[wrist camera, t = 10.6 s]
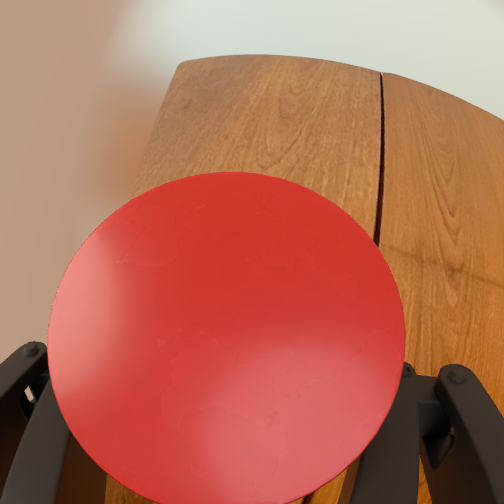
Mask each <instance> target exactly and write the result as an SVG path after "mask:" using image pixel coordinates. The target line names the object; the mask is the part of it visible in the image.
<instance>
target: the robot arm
mask: <svg viewBox="0 0 504 504" xmlns="http://www.w3.org/2000/svg"><path fill="white" fill-rule="evenodd" d="M28 386H29V388H30V390H31V393H32V395H33V397H34V398H33V400H31V401H29V400H28V398H27V396H26V394H25V392H24V391H25V389H26V388H27V387H28ZM419 455H420V458H421V462H422V465H423V469H424V473H425V476H426V480H427V484H428V488H429V492H430V496H431V500H432V504H504V418H503V416H502V415H501V413H500V411H499V410H498V408H497V407H496V405H495V404H494V402H493V401H492V399H491V397H490V396H489V394H488V393H487V391H486V390H485V389H484V387H483V386H482V384H481V383H480V381H479V380H478V378H477V377H476V376H475V374H474V373H473V372H472V371H471V370H470V369H468V368H467V367H465V366H463V365H459V364H449V365H445V366H443V367H442V368H441V369H440V372H439V374H438V377H430V376H420V375H416V372H415V370H414V368H413V367H412V366H411V365H410V364H408V363H406V362H404V365H403V370H402V375H401V380H400V384H399V387H398V390H397V393H396V396H395V399H394V401H393V404H392V406H391V409H390V411H389V413H388V415H387V417H386V419H385V420H384V422H383V424H382V426H381V428H380V429H379V431H378V433H377V434H376V436H375V437H374V438H373V440H372V441H371V442H370V444H369V445H368V446H367V447H366V449H365V450H364V451H363V452H362V454H361V455H360V456H359V457H358V458H357V459H356V460H355V461H354V462H353V463H352V464H351V465H350V466H348V469H347V472H346V476H345V480H344V483H343V487H342V490H341V493H340V497H339V500H338V503H337V504H417V496H418V482H419ZM106 479H107V473H106V472H105V471H104V470H102V469H101V468H100V467H99V466H98V465H97V464H96V462H95V461H94V460H93V459H92V458H91V457H90V456H89V455H88V454H87V453H86V452H85V451H84V449H83V448H82V446H81V445H80V444H79V442H78V441H77V439H76V438H75V437H74V435H73V434H72V432H71V431H70V429H69V427H68V425H67V423H66V421H65V419H64V417H63V415H62V413H61V411H60V408H59V406H58V403H57V400H56V397H55V394H54V391H53V387H52V383H51V378H50V373H49V366H48V353H47V347H46V345H45V344H44V343H41V342H35V341H33V342H28V343H27V344H24V345H23V346H21V347H20V348H18V349H17V350H16V351H15V352H14V353H13V354H11V355H10V356H9V357H8V358H7V359H6V360H5V361H3V363H1V364H0V504H105V491H106Z"/></svg>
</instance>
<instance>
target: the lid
mask: <svg viewBox="0 0 504 504" xmlns="http://www.w3.org/2000/svg"><path fill="white" fill-rule="evenodd" d="M405 339H406V332H405V322H404V313H403V307H402V303H401V299H400V295H399V291H398V288H397V285H396V282H395V280H394V278H393V275H392V273H391V270H390V268H389V266H388V264H387V262H386V261H385V259H384V257H383V255H382V254H381V252H380V250H379V249H378V247H377V246H376V244H375V243H374V242H373V240H372V239H371V238H370V237H369V235H368V234H367V233H366V231H365V230H364V229H363V228H362V227H361V226H360V225H359V224H358V223H357V222H356V221H355V220H354V219H353V218H352V217H351V216H350V215H349V214H347V213H346V212H345V211H343V210H342V209H341V208H340V207H338V206H337V205H336V204H334V203H333V202H331V201H330V200H328V199H326V198H325V197H323V196H321V195H320V194H318V193H316V192H314V191H312V190H310V189H308V188H305V187H303V186H301V185H299V184H296V183H293V182H290V181H287V180H284V179H281V178H277V177H272V176H267V175H263V174H256V173H246V172H216V173H207V174H200V175H195V176H190V177H185V178H181V179H178V180H175V181H172V182H169V183H166V184H163V185H161V186H158V187H156V188H154V189H151V190H149V191H147V192H145V193H143V194H141V195H140V196H138V197H136V198H134V199H132V200H131V201H129V202H128V203H126V204H125V205H123V206H122V207H121V208H119V209H118V210H116V211H115V212H114V213H113V214H112V215H110V216H109V217H108V218H107V219H106V220H104V222H102V223H101V224H100V225H99V226H98V227H97V228H96V229H95V230H94V231H93V233H92V234H91V235H90V236H89V237H88V238H87V239H86V241H85V242H84V243H83V245H82V246H81V247H80V249H79V250H78V251H77V253H76V254H75V256H74V257H73V259H72V261H71V263H70V264H69V266H68V267H67V269H66V271H65V274H64V276H63V278H62V280H61V282H60V285H59V287H58V290H57V293H56V296H55V299H54V302H53V306H52V310H51V315H50V320H49V326H48V341H47V353H48V366H49V373H50V378H51V383H52V387H53V391H54V394H55V397H56V400H57V403H58V406H59V408H60V411H61V413H62V415H63V417H64V419H65V421H66V423H67V425H68V427H69V429H70V431H71V432H72V434H73V435H74V437H75V438H76V439H77V441H78V442H79V444H80V445H81V446H82V448H83V449H84V451H85V452H86V453H87V454H88V455H89V456H90V457H91V458H92V459H93V460H94V461H95V462H96V464H97V465H98V466H99V467H100V468H101V469H102V470H104V471H105V472H106V473H107V474H109V475H110V476H111V477H112V478H114V479H115V480H116V481H118V482H119V483H120V484H122V485H123V486H125V487H127V488H128V489H130V490H132V491H133V492H135V493H137V494H139V495H141V496H142V497H144V498H146V499H149V500H151V501H154V502H157V503H159V504H289V503H291V502H293V501H296V500H298V499H300V498H302V497H305V496H307V495H309V494H311V493H313V492H315V491H316V490H318V489H319V488H321V487H322V486H324V485H325V484H327V483H328V482H330V481H331V480H333V479H334V478H336V477H337V476H338V475H340V474H341V473H342V472H343V471H344V470H345V469H346V468H347V467H348V466H350V465H351V464H352V463H353V462H354V461H355V460H356V459H357V458H358V457H359V456H360V455H361V454H362V452H363V451H364V450H365V449H366V447H367V446H368V445H369V444H370V442H371V441H372V440H373V438H374V437H375V436H376V434H377V433H378V431H379V429H380V428H381V426H382V424H383V422H384V420H385V419H386V417H387V415H388V413H389V411H390V409H391V406H392V404H393V401H394V399H395V396H396V393H397V390H398V387H399V384H400V380H401V375H402V370H403V365H404V359H405Z"/></svg>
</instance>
